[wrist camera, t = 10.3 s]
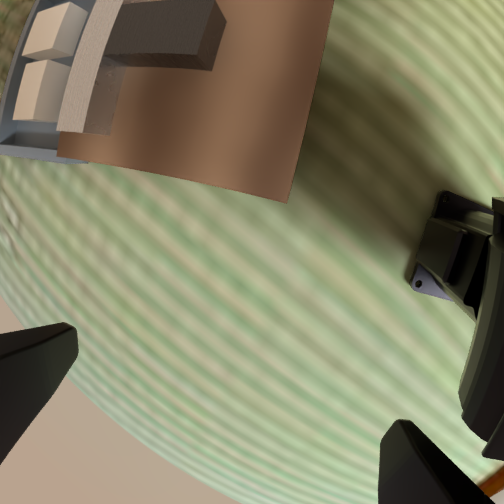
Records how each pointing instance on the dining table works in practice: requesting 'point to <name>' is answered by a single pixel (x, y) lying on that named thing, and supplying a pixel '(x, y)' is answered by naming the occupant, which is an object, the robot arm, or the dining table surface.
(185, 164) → the plate
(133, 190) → the dining table surface
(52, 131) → the box
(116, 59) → the scraper
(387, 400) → the dining table surface
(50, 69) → the tile
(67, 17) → the tile
